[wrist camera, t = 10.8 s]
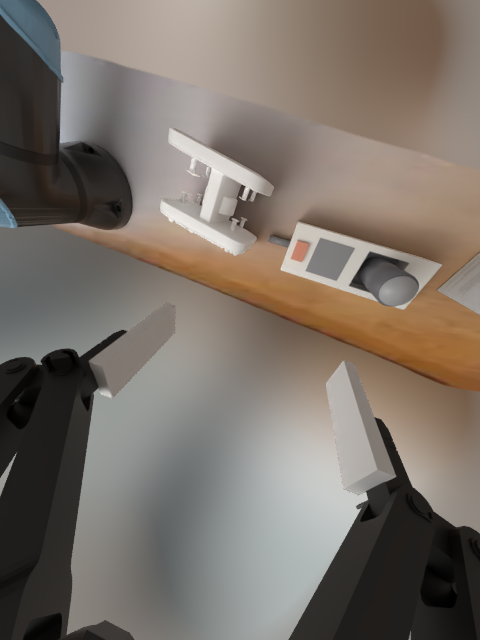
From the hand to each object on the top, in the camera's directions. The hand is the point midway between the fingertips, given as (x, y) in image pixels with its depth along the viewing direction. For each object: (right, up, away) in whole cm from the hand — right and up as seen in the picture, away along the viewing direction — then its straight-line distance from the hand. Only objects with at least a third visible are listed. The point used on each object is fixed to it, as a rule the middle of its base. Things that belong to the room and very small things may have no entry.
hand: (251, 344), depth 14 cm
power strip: (+17, +14, +20) cm, 30 cm away
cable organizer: (-2, +24, +21) cm, 32 cm away
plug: (+22, +11, +18) cm, 31 cm away
